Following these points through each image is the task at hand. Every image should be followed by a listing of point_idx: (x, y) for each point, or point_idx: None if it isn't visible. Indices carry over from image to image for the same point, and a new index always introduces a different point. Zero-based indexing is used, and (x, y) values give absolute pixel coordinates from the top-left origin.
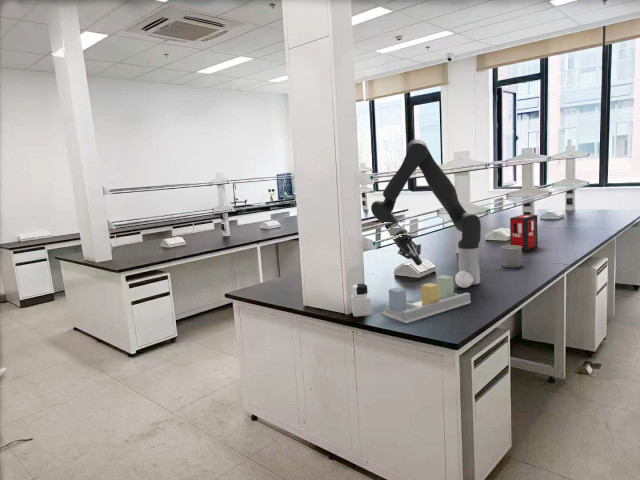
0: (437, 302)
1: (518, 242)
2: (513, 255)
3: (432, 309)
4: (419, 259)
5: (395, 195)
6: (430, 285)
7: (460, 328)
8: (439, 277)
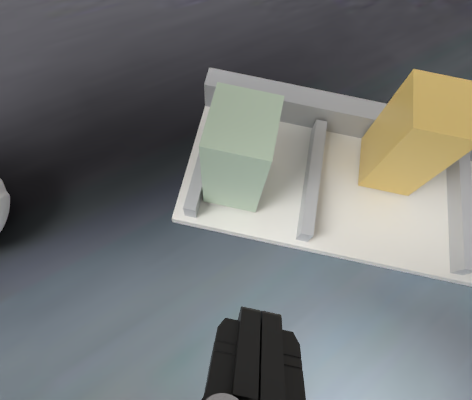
0: None
1: None
2: None
3: None
4: (248, 341)
5: None
6: (452, 96)
7: (444, 25)
8: (274, 138)
